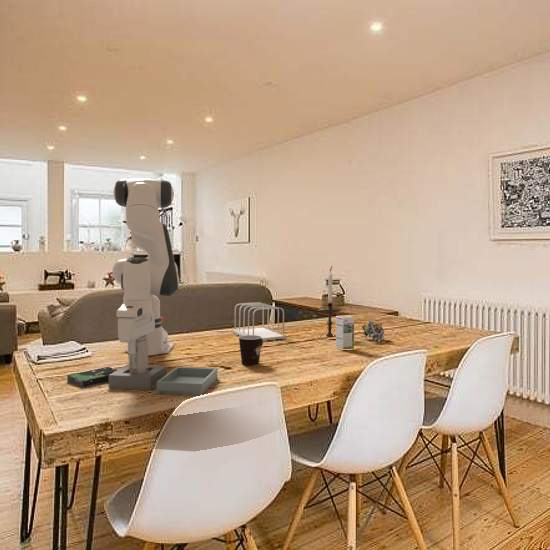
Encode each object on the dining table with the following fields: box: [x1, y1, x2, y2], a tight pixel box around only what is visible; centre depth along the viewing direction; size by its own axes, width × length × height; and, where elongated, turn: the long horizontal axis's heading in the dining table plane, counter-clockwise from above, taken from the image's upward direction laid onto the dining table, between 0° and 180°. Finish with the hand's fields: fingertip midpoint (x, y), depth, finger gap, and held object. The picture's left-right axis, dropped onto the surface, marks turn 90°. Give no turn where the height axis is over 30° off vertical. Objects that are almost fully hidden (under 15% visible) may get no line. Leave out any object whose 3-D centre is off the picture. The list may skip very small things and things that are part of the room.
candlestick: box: [318, 265, 342, 338], centre depth 230 cm, size 11×11×35 cm
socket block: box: [108, 363, 168, 390], centre depth 155 cm, size 14×14×4 cm
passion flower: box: [361, 319, 386, 343], centre depth 225 cm, size 11×11×12 cm
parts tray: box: [155, 366, 219, 396], centre depth 152 cm, size 18×14×4 cm
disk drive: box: [67, 366, 118, 388], centre depth 158 cm, size 10×3×15 cm
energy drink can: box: [128, 336, 149, 374], centre depth 155 cm, size 6×6×15 cm
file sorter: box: [232, 301, 287, 342], centre depth 234 cm, size 25×17×16 cm
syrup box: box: [335, 314, 355, 349], centre depth 206 cm, size 6×6×14 cm
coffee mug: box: [238, 335, 264, 367], centre depth 181 cm, size 12×9×10 cm
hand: (138, 350), depth 155 cm, fingers closed on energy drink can, 6 cm apart
